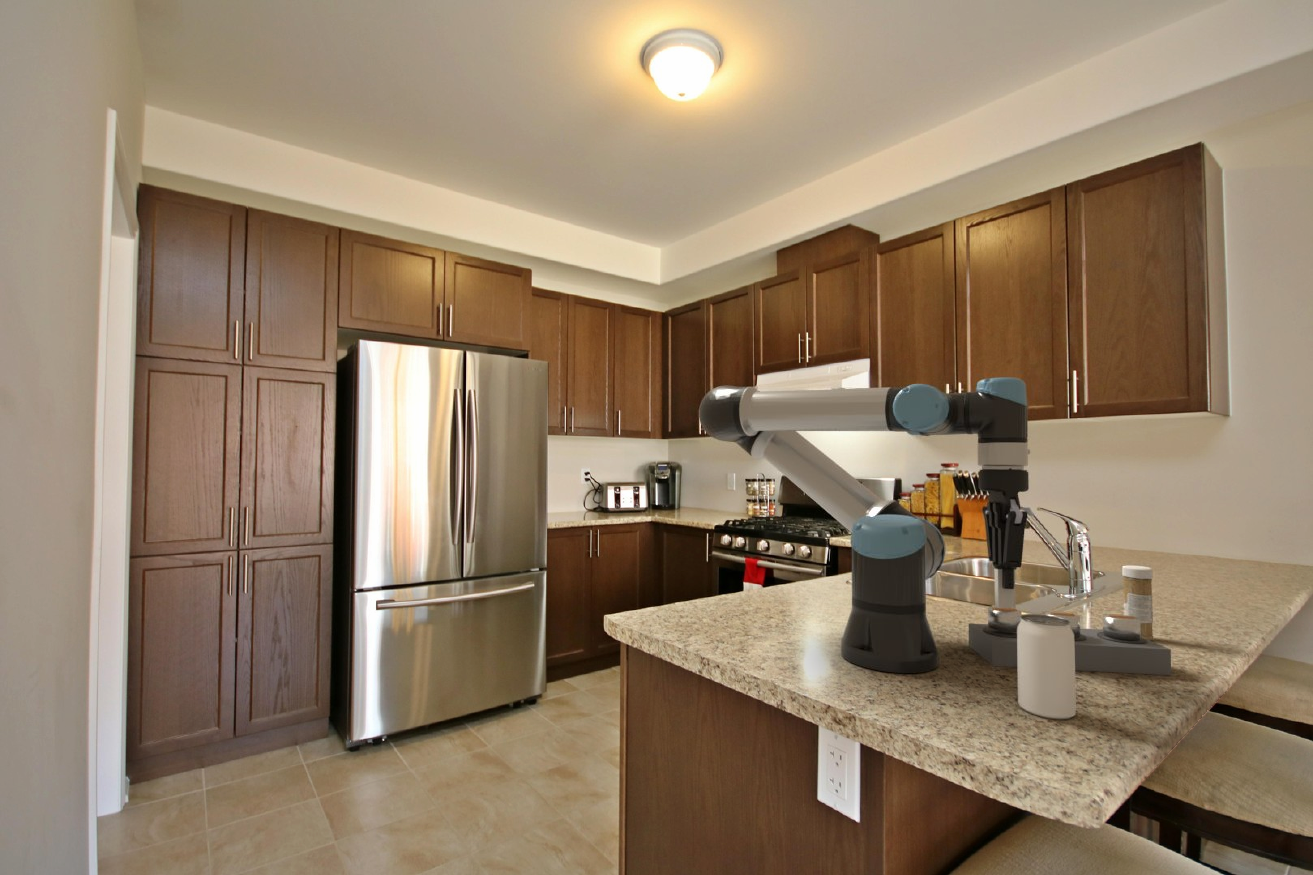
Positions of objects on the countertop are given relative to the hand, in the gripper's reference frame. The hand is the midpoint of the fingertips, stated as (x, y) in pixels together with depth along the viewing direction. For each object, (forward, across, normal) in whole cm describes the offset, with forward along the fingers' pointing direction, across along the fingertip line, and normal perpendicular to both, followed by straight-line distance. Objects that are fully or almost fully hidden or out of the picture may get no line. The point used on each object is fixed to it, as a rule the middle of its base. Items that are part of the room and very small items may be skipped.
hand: (1005, 606), depth 105 cm
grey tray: (+8, 0, -9) cm, 12 cm away
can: (+9, -24, +4) cm, 26 cm away
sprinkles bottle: (+9, +17, -30) cm, 36 cm away
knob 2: (+4, 0, -18) cm, 18 cm away
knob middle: (+4, 0, -9) cm, 10 cm away
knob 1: (+4, 0, 0) cm, 4 cm away
